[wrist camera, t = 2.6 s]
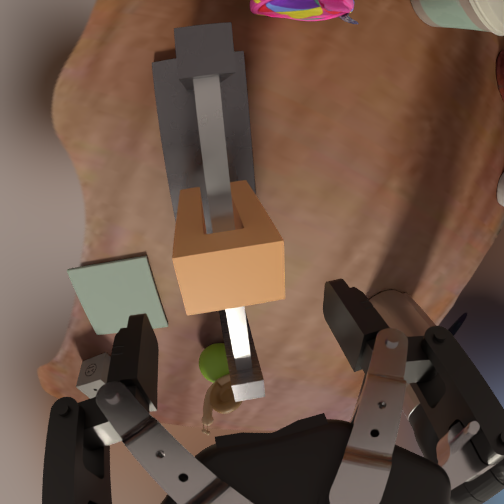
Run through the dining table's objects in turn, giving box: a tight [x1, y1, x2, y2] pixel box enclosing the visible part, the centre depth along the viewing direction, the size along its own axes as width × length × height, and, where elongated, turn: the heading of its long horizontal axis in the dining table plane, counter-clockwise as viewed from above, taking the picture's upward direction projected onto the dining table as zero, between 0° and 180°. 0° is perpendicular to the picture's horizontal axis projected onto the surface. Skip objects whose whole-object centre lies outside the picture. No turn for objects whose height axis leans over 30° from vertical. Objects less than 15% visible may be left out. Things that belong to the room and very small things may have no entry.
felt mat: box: [67, 255, 168, 335], centre depth 32 cm, size 10×10×1 cm
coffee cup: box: [411, 0, 504, 36], centre depth 16 cm, size 9×9×12 cm
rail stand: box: [152, 22, 265, 402], centre depth 22 cm, size 8×26×15 cm, turn 4°
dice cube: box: [76, 353, 111, 399], centre depth 35 cm, size 5×5×5 cm
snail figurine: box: [199, 343, 242, 435], centre depth 34 cm, size 5×6×12 cm
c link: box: [172, 180, 285, 315], centre depth 20 cm, size 5×4×11 cm, turn 94°
